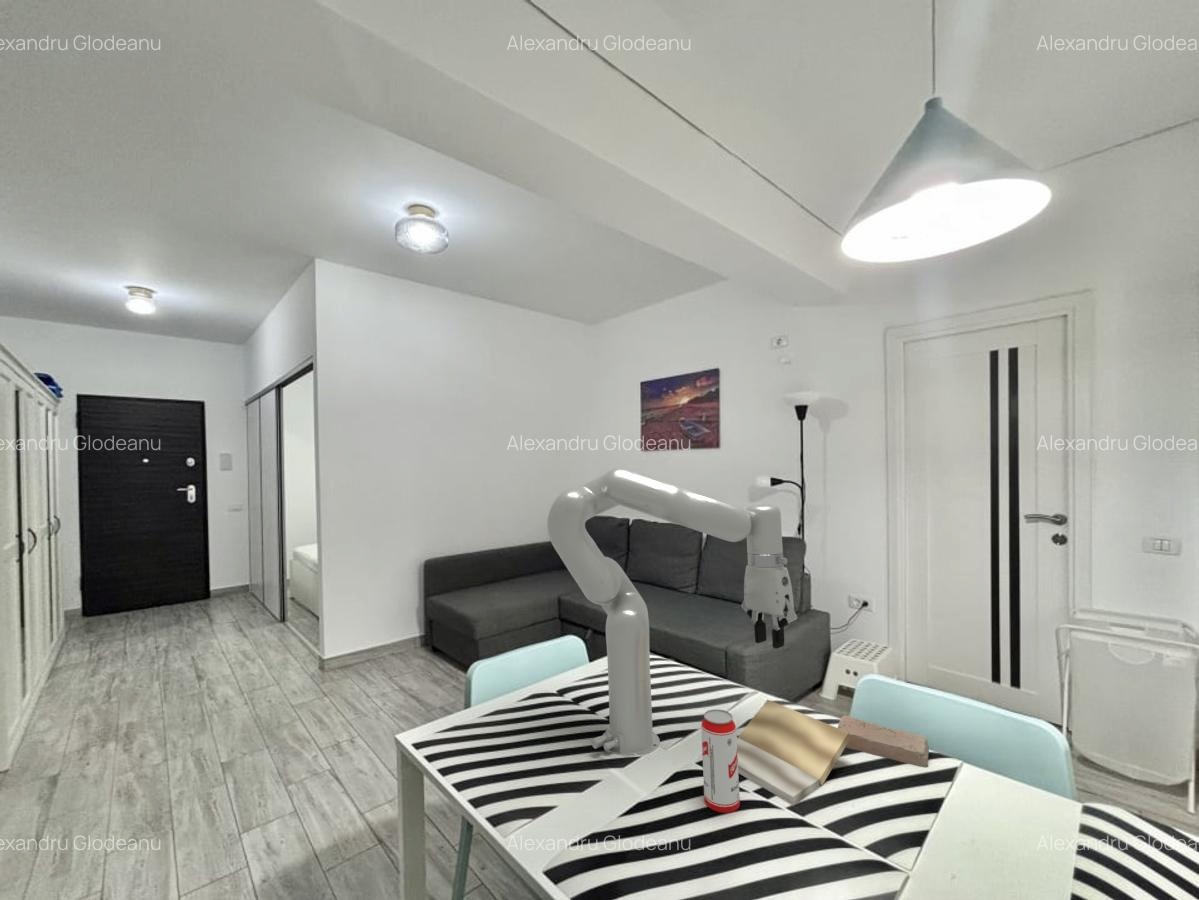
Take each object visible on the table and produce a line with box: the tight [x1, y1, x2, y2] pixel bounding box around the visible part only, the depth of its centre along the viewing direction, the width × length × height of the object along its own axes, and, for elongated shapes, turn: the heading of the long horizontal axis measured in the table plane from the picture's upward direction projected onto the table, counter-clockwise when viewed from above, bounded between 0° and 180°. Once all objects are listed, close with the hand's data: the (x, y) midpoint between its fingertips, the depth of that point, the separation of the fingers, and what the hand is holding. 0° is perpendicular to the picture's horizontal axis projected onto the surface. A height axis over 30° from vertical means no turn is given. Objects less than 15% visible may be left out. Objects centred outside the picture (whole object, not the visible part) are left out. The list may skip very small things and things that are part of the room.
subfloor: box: [737, 736, 820, 806], centre depth 101 cm, size 24×20×2 cm
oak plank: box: [737, 699, 851, 786], centre depth 103 cm, size 12×19×2 cm, turn 37°
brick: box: [837, 715, 930, 769], centre depth 104 cm, size 16×8×5 cm, turn 55°
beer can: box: [700, 708, 741, 814], centre depth 89 cm, size 6×6×16 cm
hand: (769, 643), depth 109 cm, fingers open, 3 cm apart
